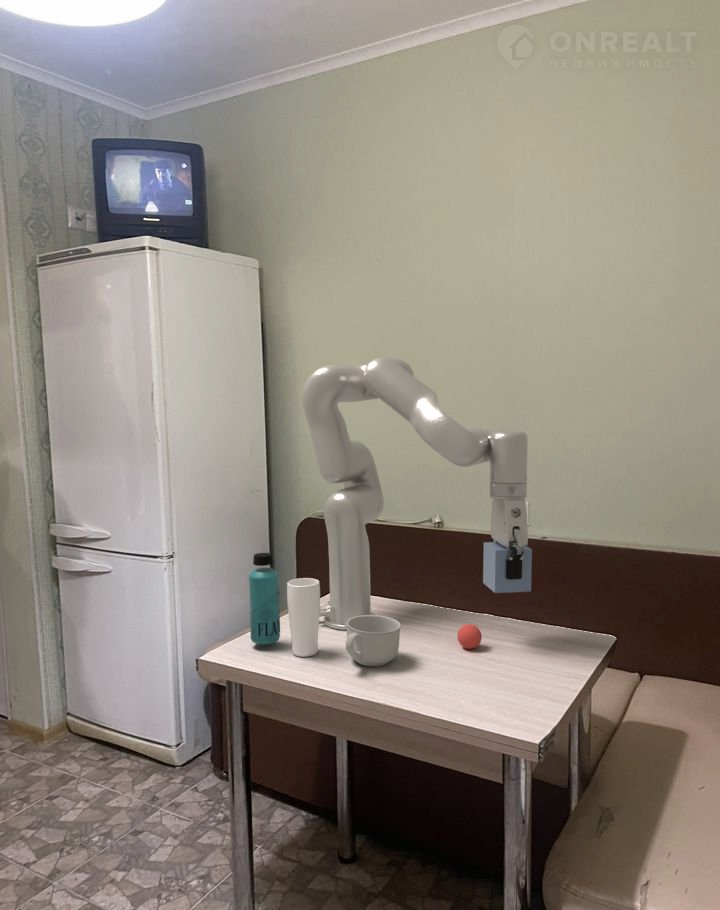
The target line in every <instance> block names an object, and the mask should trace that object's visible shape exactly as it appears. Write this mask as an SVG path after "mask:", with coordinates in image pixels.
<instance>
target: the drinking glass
mask: <svg viewBox="0 0 720 910" xmlns="http://www.w3.org/2000/svg"><path fill="white" fill-rule="evenodd" d="M286 599H287V600H286V601H287V611H288V621H289V629H290V637H291V639H290V640H291V653H293V655H295V657H296V656H297V657H302V658H308V657H312V656H315V655H316V654H317V653H318V651H319V628H320V627H319V626H320V617H319V613H320V607H321V586H320V580H318V579H315V578H310V577H303V578H302V577H301V578H300V577H299V578H294V579H290V580H289V581H287V582H286Z"/></svg>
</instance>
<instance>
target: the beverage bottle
mask: <svg viewBox="0 0 720 910" xmlns="http://www.w3.org/2000/svg"><path fill="white" fill-rule="evenodd" d="M273 563H274V560H273V554H272V553H270V552H259V553H254V554H253V560H252V564H253V565H254V566H256V567H257V566H258V568H255V569H253V570H252V571H251V572H250V573H249V574H248V582H249V584H248V585H249V588H248V589H249V608H250V609H249V619H250V620H249V621H250V622H249V623H250V624H249V625H250V631H249V632H250V640H251V642H252V643H254V644H258V645H269V644H274V643H275V642H276V643H277V642H278V641H279V640H280V638H281V620H280V619H281V614H280V612H281V611H280V606H281V605H280V589H279V574H278V572H277V571H276V569H274V568H272V567H265V566H270V565H273Z"/></svg>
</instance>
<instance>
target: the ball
mask: <svg viewBox="0 0 720 910" xmlns="http://www.w3.org/2000/svg"><path fill="white" fill-rule="evenodd" d="M456 636H457V641H458V643H459V644H460V646H462V648H465V649H468V650H469V649H470V650H472V649H475V648H477V647H478V646H479V645H480V644H481V642H482V637H483V635H482V632H481V630H480V628H479V627H478V626H476V625H475V624H473V623H467V624H463V625H462V626H461V627H459V628H458V631H457V635H456Z"/></svg>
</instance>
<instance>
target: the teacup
mask: <svg viewBox="0 0 720 910" xmlns="http://www.w3.org/2000/svg"><path fill="white" fill-rule="evenodd" d="M401 627H402V624H401V622H399V620H397V619H395V618H392V617H389V616H386V615H379V614H376V615H361V616H355V617H353V618H350V619H349V620H348V621H347V630H346V639H345V640H346V641H345V650H346V651H347V653H348V655H349V656H350V657H351V658H353V660H355V662H356V663H358V664H359V665H362V666H365V667H372V666H375V667H382V666H386V665H388V664H389V662H390V661H393V660H394V659H395V658H396V656H397V655H398V653H399V648H400V637H401V635H400V634H401V633H400V632H401Z"/></svg>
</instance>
